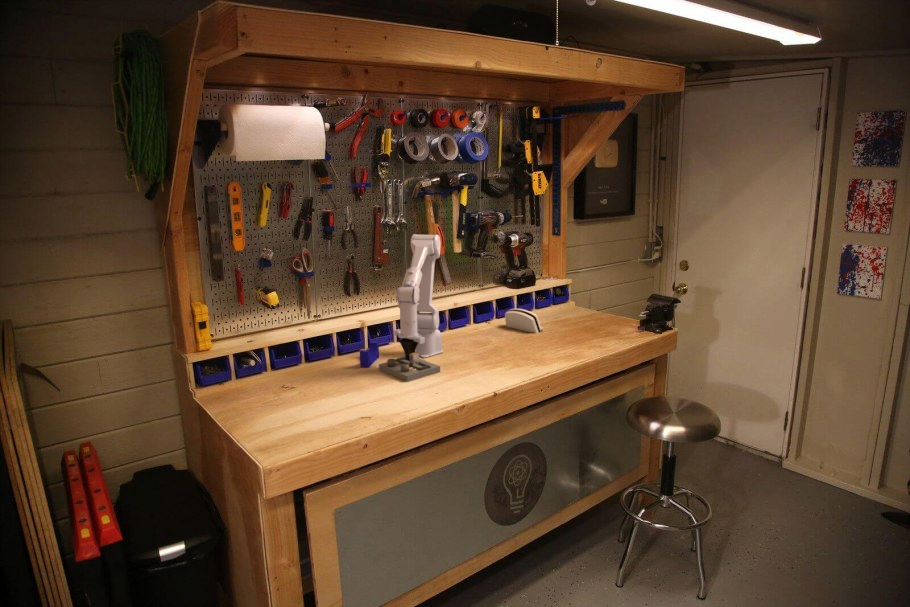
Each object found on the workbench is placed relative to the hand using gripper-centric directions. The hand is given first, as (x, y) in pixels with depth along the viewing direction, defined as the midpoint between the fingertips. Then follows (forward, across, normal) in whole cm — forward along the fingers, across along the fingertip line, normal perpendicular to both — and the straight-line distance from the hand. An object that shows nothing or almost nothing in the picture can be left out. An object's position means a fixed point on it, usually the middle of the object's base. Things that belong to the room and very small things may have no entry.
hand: (409, 359), depth 210 cm
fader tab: (+1, +2, 0) cm, 3 cm away
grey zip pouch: (+4, -7, +66) cm, 66 cm away
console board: (+3, +2, -2) cm, 4 cm away
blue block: (+4, -16, -6) cm, 18 cm away
